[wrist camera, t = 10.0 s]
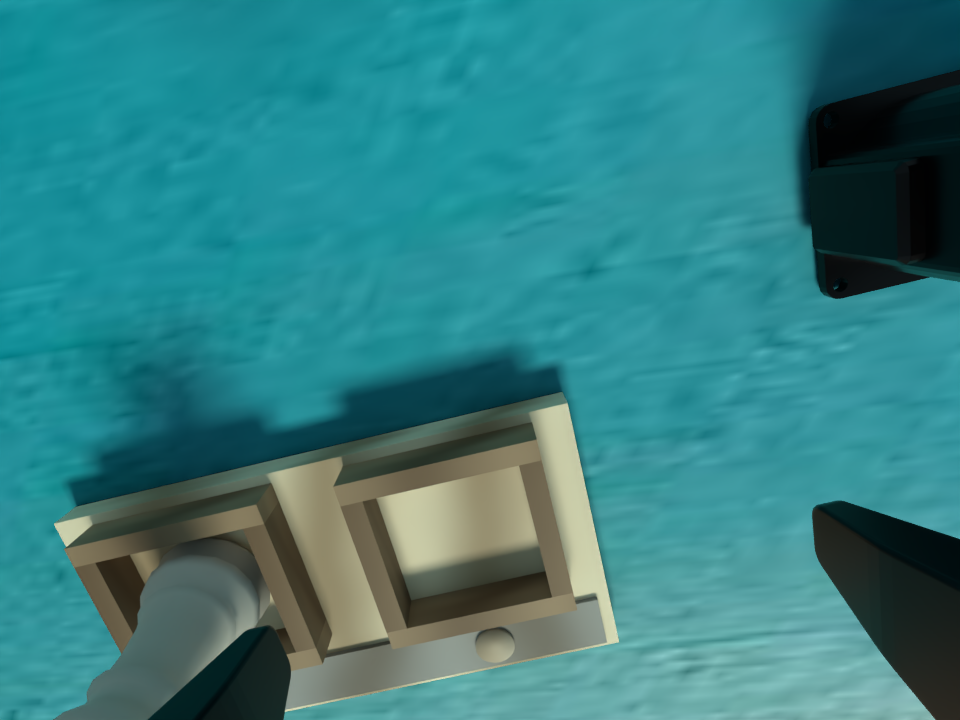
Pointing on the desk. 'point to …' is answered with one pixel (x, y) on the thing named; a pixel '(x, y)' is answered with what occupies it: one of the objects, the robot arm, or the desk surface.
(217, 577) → the rook chess piece
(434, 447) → the board
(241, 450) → the desk surface
